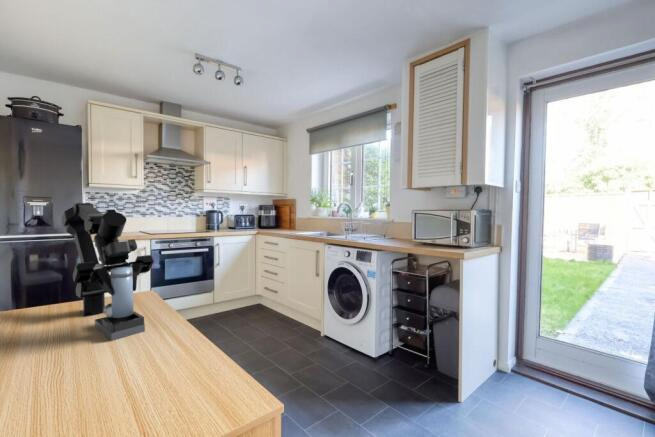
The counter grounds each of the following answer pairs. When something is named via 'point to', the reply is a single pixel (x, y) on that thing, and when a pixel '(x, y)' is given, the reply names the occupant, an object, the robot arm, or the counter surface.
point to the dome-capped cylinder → (122, 292)
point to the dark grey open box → (119, 324)
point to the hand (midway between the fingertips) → (124, 292)
